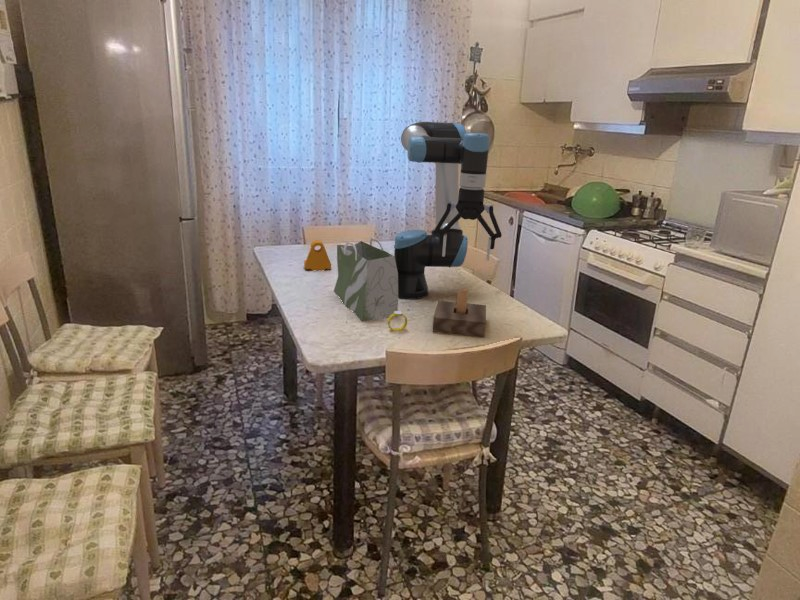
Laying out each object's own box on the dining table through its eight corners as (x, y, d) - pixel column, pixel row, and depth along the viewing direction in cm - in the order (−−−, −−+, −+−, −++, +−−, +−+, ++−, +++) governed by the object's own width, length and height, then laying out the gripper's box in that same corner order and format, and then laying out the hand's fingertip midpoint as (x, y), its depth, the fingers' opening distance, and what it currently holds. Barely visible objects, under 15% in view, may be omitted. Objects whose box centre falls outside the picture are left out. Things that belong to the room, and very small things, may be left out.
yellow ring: (404, 328, 167) (406, 310, 165) (406, 332, 164) (409, 314, 162) (386, 328, 165) (388, 310, 163) (388, 331, 162) (390, 313, 160)
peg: (454, 326, 169) (458, 291, 165) (455, 323, 172) (458, 288, 168) (464, 327, 169) (467, 292, 165) (464, 324, 172) (468, 289, 168)
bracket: (329, 265, 229) (329, 238, 225) (331, 270, 222) (331, 242, 219) (304, 266, 227) (303, 238, 223) (305, 271, 220) (304, 242, 216)
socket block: (432, 332, 164) (433, 317, 162) (437, 314, 179) (438, 300, 177) (484, 337, 162) (485, 322, 160) (484, 319, 177) (486, 305, 175)
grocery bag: (330, 291, 196) (330, 230, 189) (364, 288, 202) (366, 228, 194) (360, 322, 169) (361, 252, 161) (399, 317, 175) (403, 249, 167)
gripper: (428, 186, 154) (424, 256, 161) (515, 192, 151) (506, 264, 158) (431, 183, 161) (426, 251, 168) (514, 189, 158) (506, 257, 165)
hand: (465, 257), depth 163 cm, fingers open, 13 cm apart
